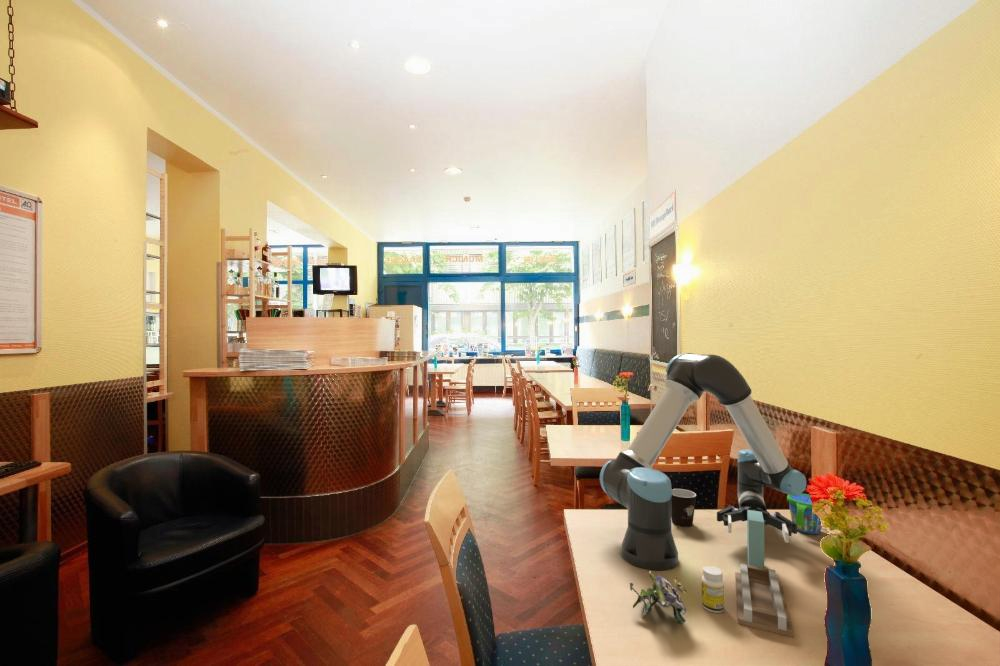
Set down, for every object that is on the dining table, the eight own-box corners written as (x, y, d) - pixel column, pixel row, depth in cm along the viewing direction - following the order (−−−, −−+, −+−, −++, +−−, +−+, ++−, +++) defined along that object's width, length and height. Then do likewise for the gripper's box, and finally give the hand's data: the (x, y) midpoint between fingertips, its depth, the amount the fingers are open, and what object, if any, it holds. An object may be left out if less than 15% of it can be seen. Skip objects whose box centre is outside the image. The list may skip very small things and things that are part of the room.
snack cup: (816, 542, 137) (816, 508, 137) (778, 530, 146) (778, 498, 146) (834, 529, 147) (834, 498, 147) (797, 519, 155) (797, 489, 155)
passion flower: (678, 646, 98) (701, 620, 91) (629, 637, 98) (649, 610, 91) (666, 592, 107) (686, 566, 101) (621, 584, 107) (639, 557, 101)
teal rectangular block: (747, 560, 125) (747, 509, 126) (761, 563, 124) (761, 511, 124) (748, 573, 118) (748, 519, 119) (764, 577, 117) (764, 522, 117)
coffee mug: (691, 518, 155) (691, 489, 155) (700, 529, 146) (700, 498, 146) (656, 517, 156) (656, 488, 156) (662, 527, 147) (662, 496, 148)
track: (735, 576, 117) (735, 562, 117) (780, 585, 113) (780, 571, 113) (738, 623, 97) (738, 607, 97) (793, 637, 93) (793, 620, 93)
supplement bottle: (703, 599, 107) (703, 563, 107) (726, 605, 104) (726, 568, 104) (699, 608, 103) (699, 571, 103) (722, 616, 100) (722, 577, 100)
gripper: (799, 526, 138) (812, 556, 119) (708, 512, 149) (707, 537, 129) (799, 501, 138) (812, 527, 119) (708, 489, 149) (707, 511, 130)
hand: (757, 532), depth 124 cm, fingers open, 13 cm apart
